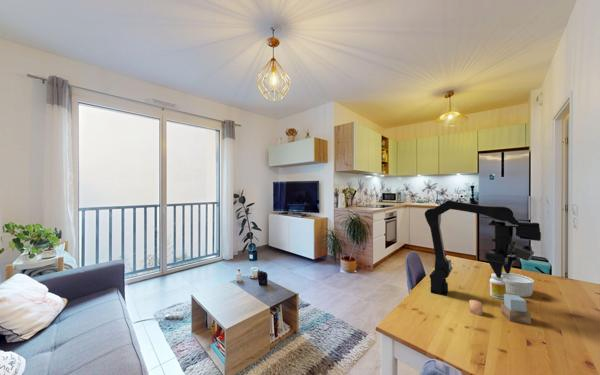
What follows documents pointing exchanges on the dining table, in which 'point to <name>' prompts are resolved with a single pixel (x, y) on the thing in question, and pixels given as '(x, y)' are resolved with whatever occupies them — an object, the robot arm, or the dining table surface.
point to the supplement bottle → (497, 287)
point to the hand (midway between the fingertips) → (503, 275)
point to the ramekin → (518, 284)
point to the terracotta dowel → (475, 307)
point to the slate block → (515, 303)
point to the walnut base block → (516, 315)
